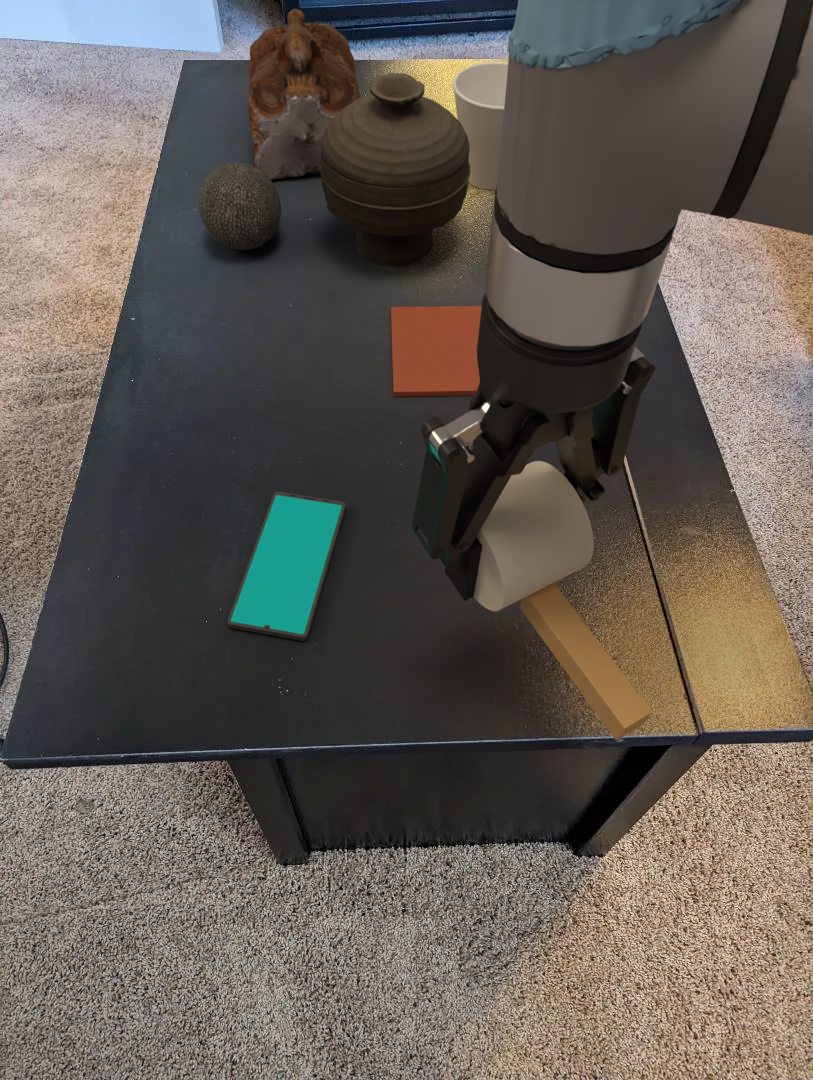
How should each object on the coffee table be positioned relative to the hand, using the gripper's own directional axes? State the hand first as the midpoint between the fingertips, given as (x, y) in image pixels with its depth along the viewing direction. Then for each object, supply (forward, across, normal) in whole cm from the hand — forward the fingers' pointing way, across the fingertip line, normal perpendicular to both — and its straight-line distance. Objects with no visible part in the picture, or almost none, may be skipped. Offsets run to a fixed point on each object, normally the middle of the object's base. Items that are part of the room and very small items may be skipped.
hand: (505, 561), depth 54 cm
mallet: (0, 0, +5) cm, 5 cm away
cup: (+15, -40, -62) cm, 75 cm away
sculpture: (+15, -21, -81) cm, 85 cm away
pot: (+15, -21, -55) cm, 61 cm away
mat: (+15, -20, -32) cm, 41 cm away
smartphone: (+15, +11, -16) cm, 25 cm away
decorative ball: (+15, -4, -64) cm, 66 cm away
